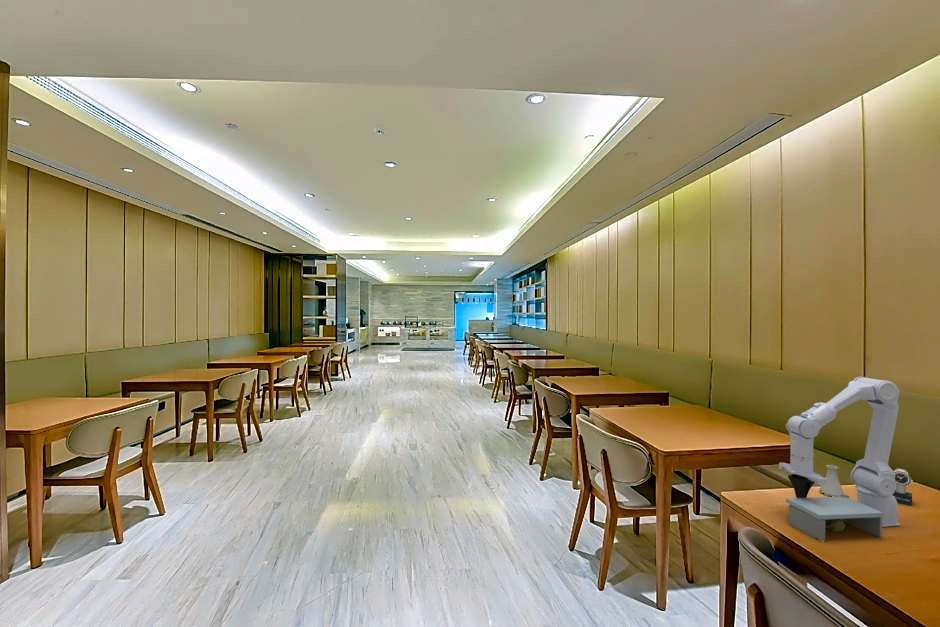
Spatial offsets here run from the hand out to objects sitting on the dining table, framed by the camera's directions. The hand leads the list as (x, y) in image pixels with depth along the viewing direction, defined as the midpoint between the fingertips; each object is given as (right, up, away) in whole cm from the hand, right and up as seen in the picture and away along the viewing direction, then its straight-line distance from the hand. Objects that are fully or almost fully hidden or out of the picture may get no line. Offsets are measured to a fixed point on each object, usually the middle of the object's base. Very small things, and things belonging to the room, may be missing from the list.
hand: (801, 500), depth 138 cm
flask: (+27, -7, +21) cm, 35 cm away
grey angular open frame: (+5, -6, -7) cm, 11 cm away
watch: (+46, -7, +15) cm, 49 cm away
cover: (+5, 0, -6) cm, 8 cm away
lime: (+5, -7, -7) cm, 10 cm away
